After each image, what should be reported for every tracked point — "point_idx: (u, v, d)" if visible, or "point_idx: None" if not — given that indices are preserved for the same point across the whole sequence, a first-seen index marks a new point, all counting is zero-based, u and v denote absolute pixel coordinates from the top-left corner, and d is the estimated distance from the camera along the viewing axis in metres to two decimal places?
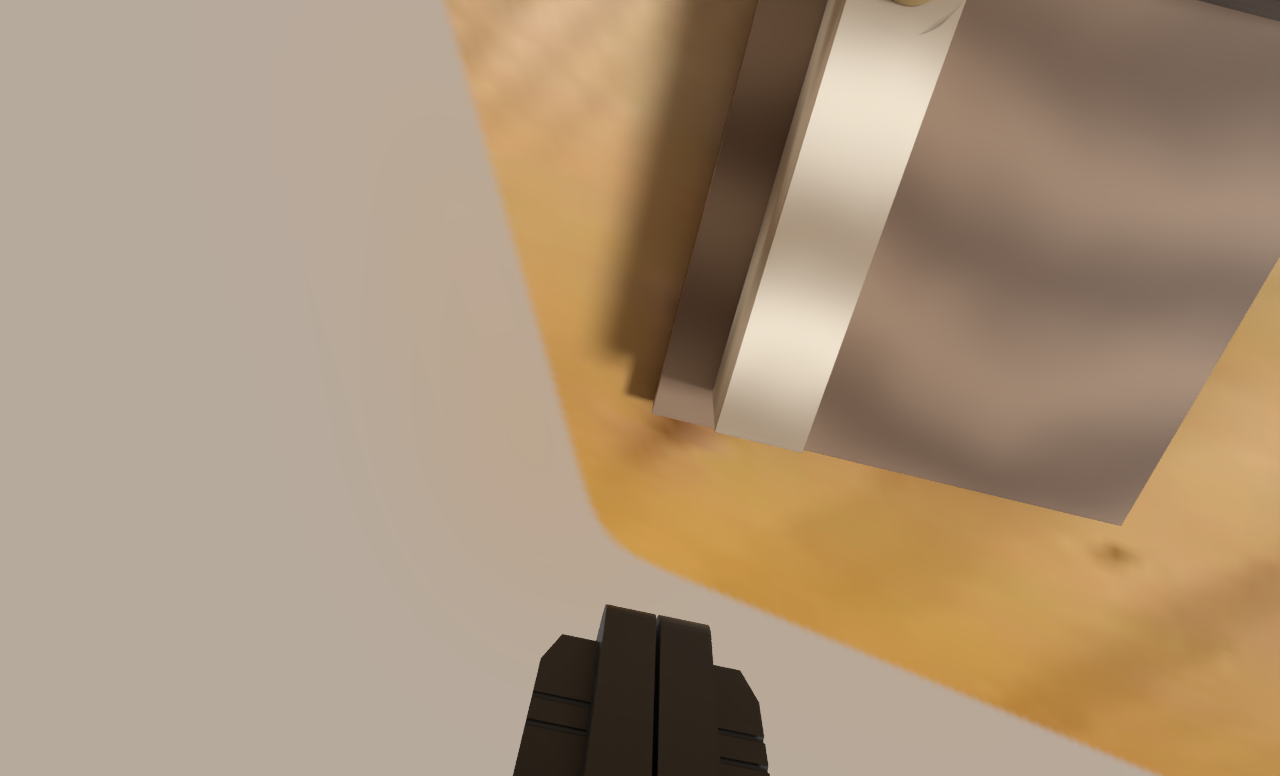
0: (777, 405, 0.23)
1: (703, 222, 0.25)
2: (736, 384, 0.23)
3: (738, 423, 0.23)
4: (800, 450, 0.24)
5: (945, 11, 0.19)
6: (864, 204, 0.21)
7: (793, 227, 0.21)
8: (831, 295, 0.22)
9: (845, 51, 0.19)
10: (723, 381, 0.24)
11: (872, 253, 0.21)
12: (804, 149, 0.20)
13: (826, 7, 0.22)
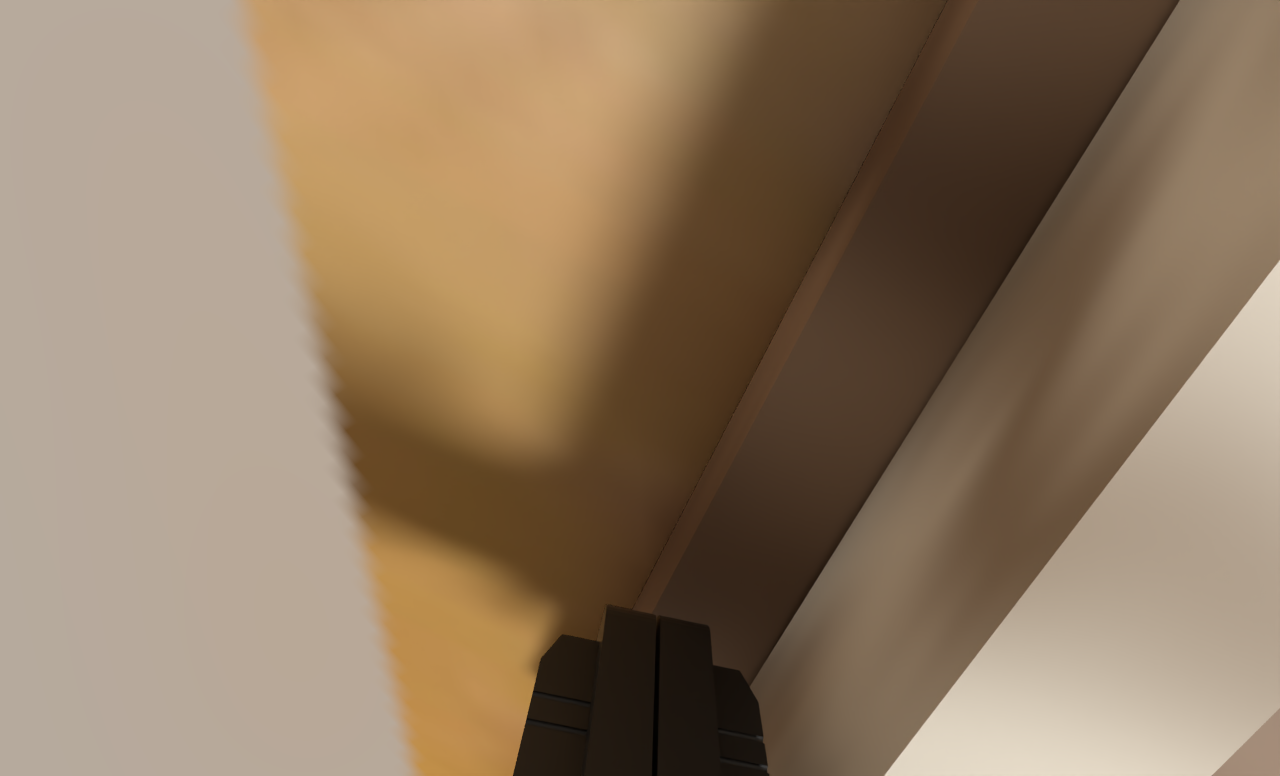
0: None
1: (781, 378, 0.10)
2: None
3: None
4: None
5: None
6: None
7: (1134, 523, 0.06)
8: (1177, 717, 0.07)
9: None
10: None
11: None
12: (1274, 289, 0.06)
13: None
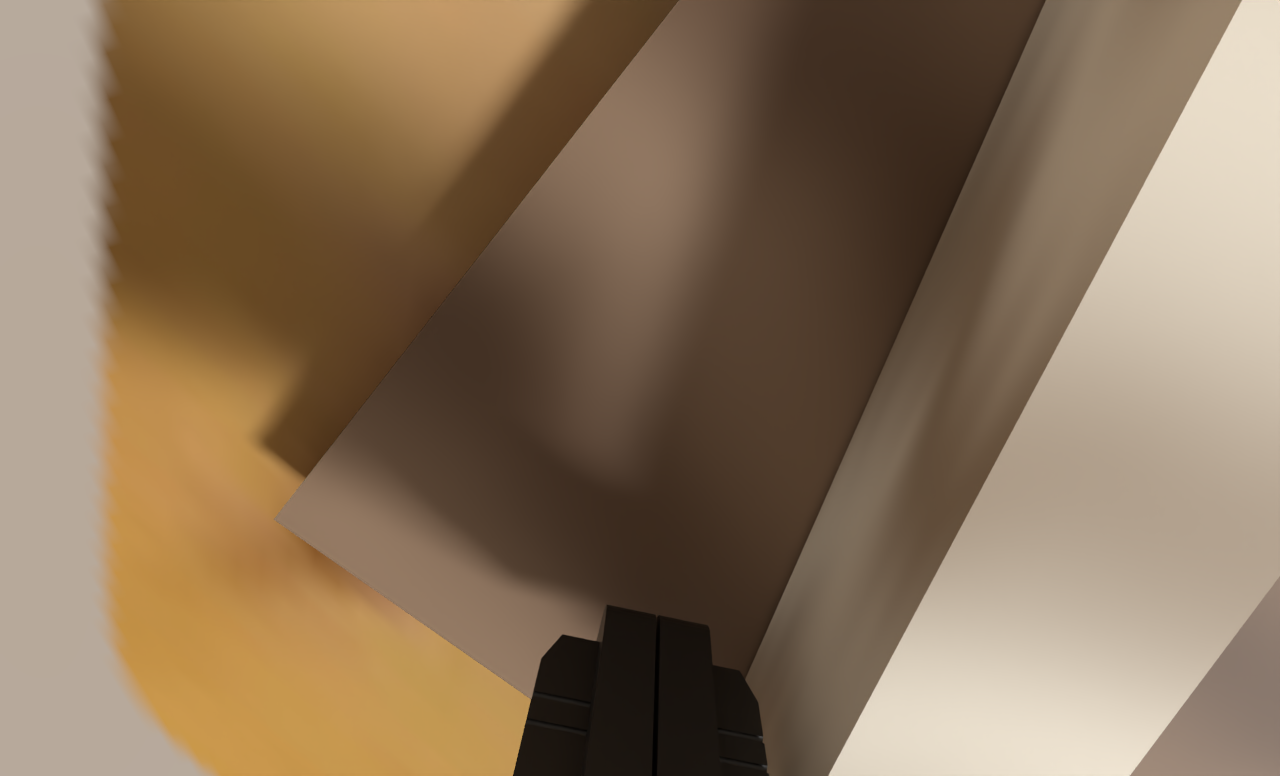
0: None
1: (564, 154, 0.09)
2: None
3: None
4: None
5: None
6: None
7: (1041, 476, 0.06)
8: (1124, 663, 0.07)
9: None
10: None
11: (1279, 564, 0.07)
12: (1130, 236, 0.06)
13: None
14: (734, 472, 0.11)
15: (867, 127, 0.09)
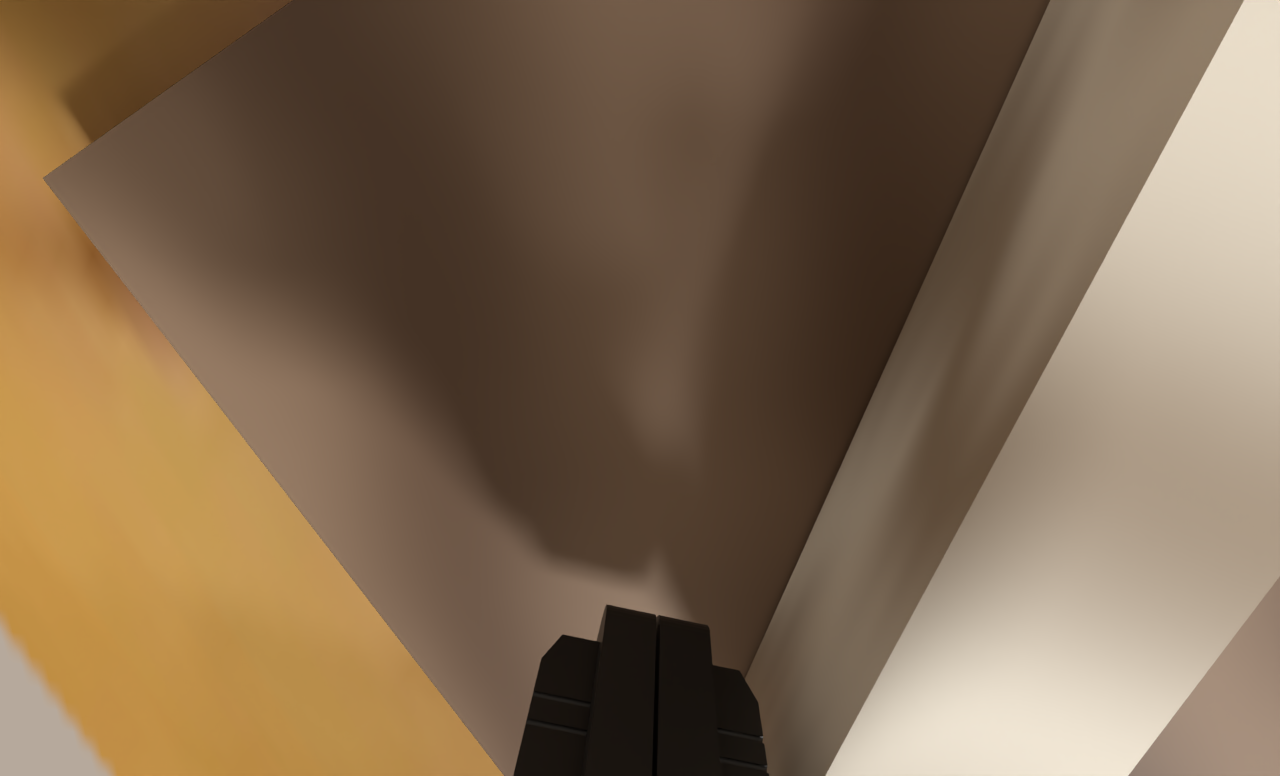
0: None
1: None
2: None
3: None
4: None
5: None
6: None
7: (1050, 458, 0.06)
8: (1132, 649, 0.07)
9: None
10: (768, 755, 0.10)
11: None
12: (1143, 213, 0.06)
13: None
14: (565, 298, 0.10)
15: None
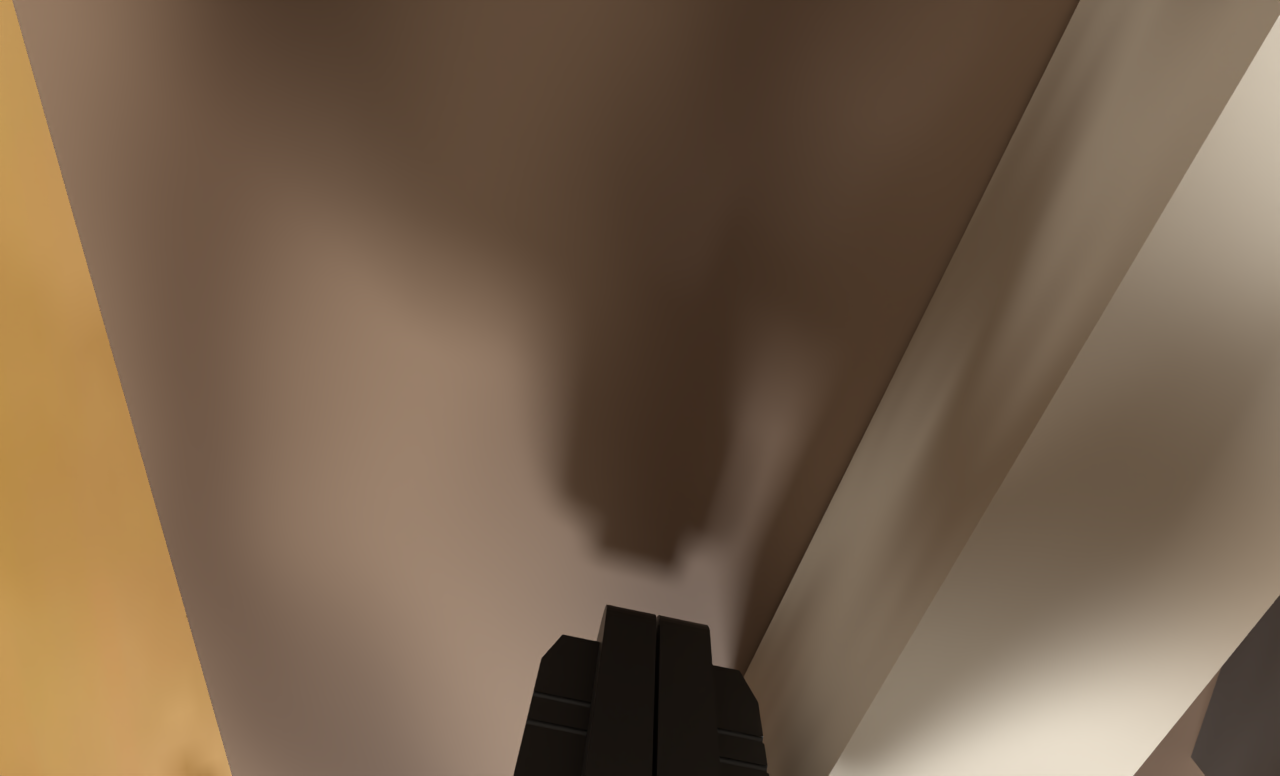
0: None
1: None
2: None
3: None
4: None
5: None
6: None
7: (1071, 459, 0.06)
8: (1140, 653, 0.07)
9: None
10: (768, 752, 0.10)
11: None
12: (1174, 218, 0.06)
13: None
14: None
15: None
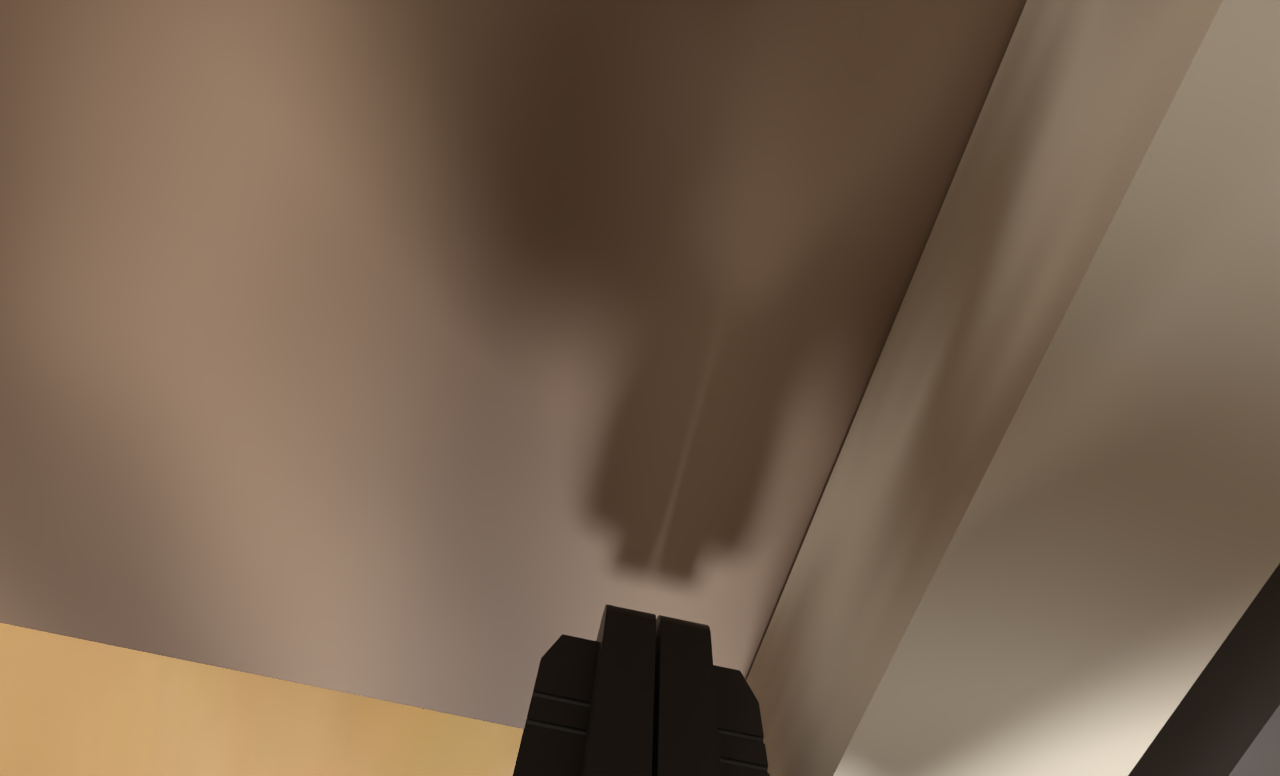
0: None
1: None
2: None
3: None
4: None
5: None
6: None
7: (1056, 439, 0.06)
8: (1142, 630, 0.07)
9: None
10: (775, 751, 0.10)
11: None
12: (1144, 185, 0.06)
13: None
14: None
15: None
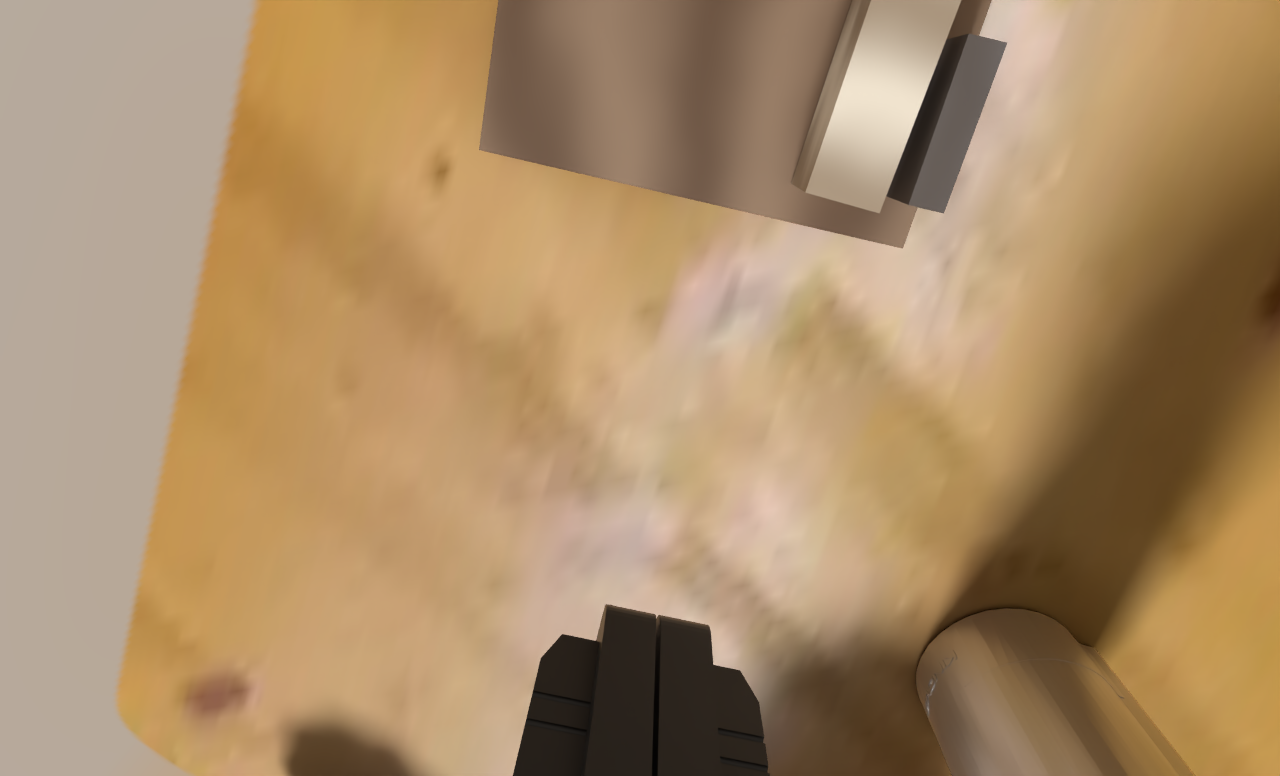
0: (861, 166, 0.27)
1: None
2: (827, 146, 0.27)
3: (826, 184, 0.27)
4: (878, 211, 0.27)
5: None
6: None
7: None
8: (914, 59, 0.25)
9: None
10: (809, 156, 0.28)
11: (952, 20, 0.25)
12: None
13: None
14: None
15: None
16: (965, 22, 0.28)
